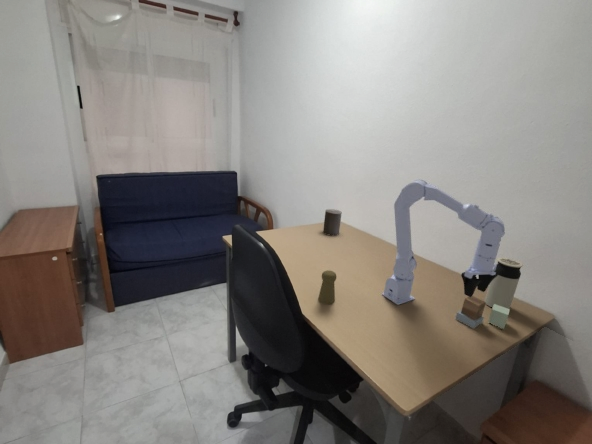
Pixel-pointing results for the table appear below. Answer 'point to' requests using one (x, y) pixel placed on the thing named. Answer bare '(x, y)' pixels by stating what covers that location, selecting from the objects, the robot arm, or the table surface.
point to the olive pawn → (327, 287)
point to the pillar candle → (332, 221)
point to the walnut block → (473, 307)
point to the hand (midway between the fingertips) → (474, 292)
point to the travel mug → (504, 283)
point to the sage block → (499, 316)
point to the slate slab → (468, 320)
